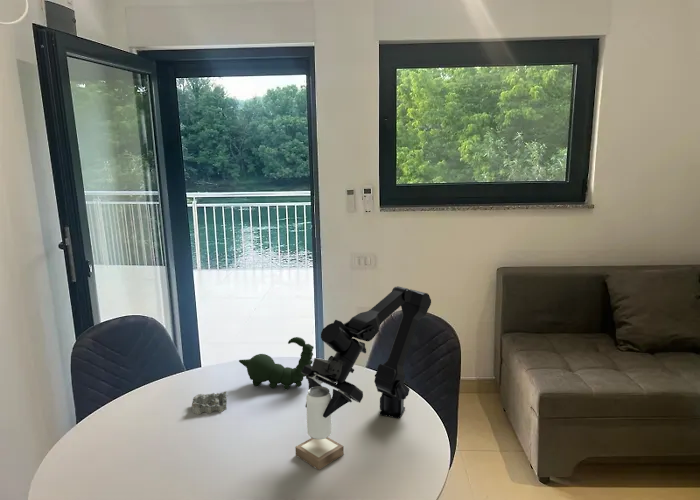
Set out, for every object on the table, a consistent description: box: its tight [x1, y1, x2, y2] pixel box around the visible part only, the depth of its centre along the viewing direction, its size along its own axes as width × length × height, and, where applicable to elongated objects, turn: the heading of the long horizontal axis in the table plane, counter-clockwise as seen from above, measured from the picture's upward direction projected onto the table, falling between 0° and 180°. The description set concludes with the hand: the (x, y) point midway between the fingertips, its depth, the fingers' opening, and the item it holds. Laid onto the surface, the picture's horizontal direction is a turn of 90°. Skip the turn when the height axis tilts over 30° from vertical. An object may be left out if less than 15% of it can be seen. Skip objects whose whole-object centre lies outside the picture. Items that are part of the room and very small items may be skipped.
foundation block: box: [294, 437, 345, 471], centre depth 134 cm, size 9×9×3 cm
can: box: [305, 385, 333, 439], centre depth 132 cm, size 6×6×12 cm
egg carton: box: [191, 390, 228, 415], centre depth 159 cm, size 11×8×4 cm
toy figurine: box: [238, 336, 314, 390], centre depth 172 cm, size 9×19×25 cm
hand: (315, 412), depth 131 cm, fingers closed on can, 6 cm apart
